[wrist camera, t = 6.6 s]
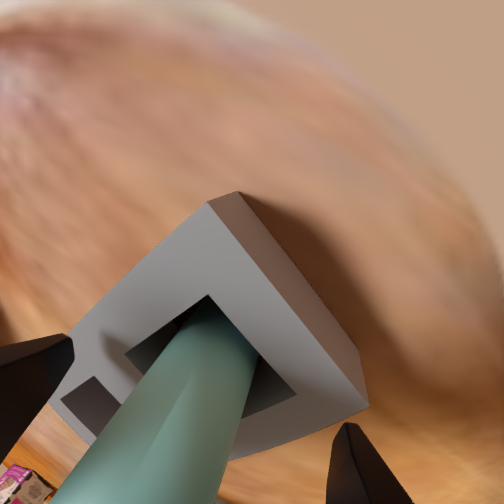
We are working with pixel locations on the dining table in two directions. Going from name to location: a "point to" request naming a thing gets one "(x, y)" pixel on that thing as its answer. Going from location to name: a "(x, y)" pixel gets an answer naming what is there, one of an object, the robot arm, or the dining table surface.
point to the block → (241, 315)
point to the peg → (172, 422)
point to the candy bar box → (23, 487)
